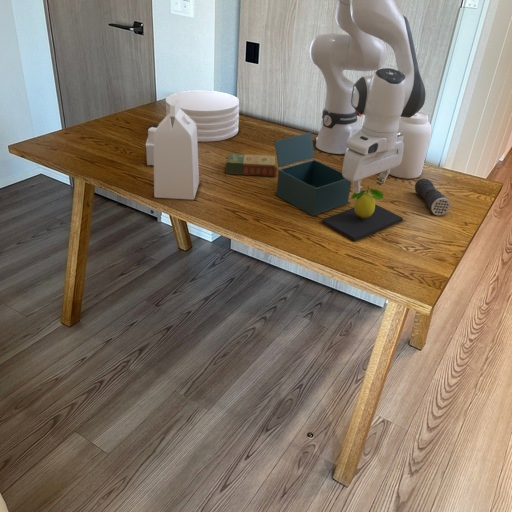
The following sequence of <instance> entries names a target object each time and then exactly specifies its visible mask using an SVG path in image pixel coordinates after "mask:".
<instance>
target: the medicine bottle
mask: <svg viewBox="0 0 512 512" xmlns="http://www.w3.org/2000/svg"><path fill="white" fill-rule="evenodd" d="M158 125H159V124H151V125H149V126H148V127H147V128H146V133H147V134H146V135H147V138H146V141H145V145H144V147H145V159H146V160H145V161H146V165H147V166H154V132H155V130H156V129H157V127H158Z"/></svg>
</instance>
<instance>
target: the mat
mask: <svg viewBox="0 0 512 512" xmlns="http://www.w3.org/2000/svg"><path fill="white" fill-rule="evenodd" d="M401 222H403V217H402V216H400V215H398V214H397V213H394V212H392V211H390V210H388V209H386V208H384V207H382V206H379V204H376V203H375V210H374V212H373V214H372V215H371V216H370V217H367V218H361V217H359V216H358V215H356V213H355V211H354V207H352V208H348V209H347V210H343V211H341V212H338V213H336V214H333V215H330V216H328V217H325V218H323V219H321V224H323V225H325V226H326V227H328V228H330V229H332V230H334V231H335V232H337V233H339V234H340V235H342V236H344V237H346V238H347V239H349V240H351V241H353V242H357V241H359V240H361V239H364V238H366V237H368V236H371V235H372V234H375V233H377V232H380V231H382V230H384V229H387V228H389V227H392V226H393V225H396V224H398V223H401Z"/></svg>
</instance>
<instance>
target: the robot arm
mask: <svg viewBox="0 0 512 512" xmlns="http://www.w3.org/2000/svg"><path fill="white" fill-rule="evenodd" d="M334 18H335V22H336V23H337V26H338V27H339V29H341V30H342V31H344V33H346V34H344V33H343V34H342V33H332V32H331V33H323V34H318V35H316V36H315V37H314V38H313V39H312V41H311V43H310V47H309V57H310V60H311V62H312V63H313V65H315V67H317V68H318V70H319V71H320V73H321V75H322V76H323V80H324V83H325V101H324V107H323V108H322V113H321V114H322V115H321V121H320V124H319V130H318V135H317V136H316V139H315V148H316V149H318V150H320V151H322V152H325V153H329V154H335V155H344V157H343V162H342V169H341V172H342V176H343V177H344V178H345V179H346V180H348V181H351V184H352V185H353V187H352V189H353V190H352V192H353V194H354V193H356V194H358V193H361V192H362V190H363V186H361V183H362V180H363V179H366V178H370V177H372V176H375V175H377V174H379V176H377V177H376V180H375V181H376V182H375V183H376V184H377V185H379V186H381V185H385V184H386V179H387V178H388V176H389V175H390V174H389V173H390V170H391V169H392V168H395V167H398V166H399V165H400V163H401V162H402V157H403V149H404V143H403V135H402V134H401V132H398V130H399V118H400V117H407V118H410V117H412V116H413V115H415V114H416V113H417V112H420V111H421V110H422V108H423V107H424V105H425V102H426V96H427V95H426V87H425V84H424V81H423V79H422V76H421V72H420V69H419V63H418V58H417V54H416V49H415V44H414V39H413V34H412V30H411V26H410V22H409V20H408V18H407V17H406V16H405V15H404V14H403V13H402V12H401V11H400V9H399V7H398V5H397V3H396V0H336V3H335V13H334ZM386 44H387V45H389V47H390V48H391V49H392V50H393V53H394V59H395V63H396V67H397V69H395V68H389V67H384V68H383V66H384V64H385V63H386V60H387V57H388V49H387V45H386ZM344 71H354V72H355V71H356V72H364V73H365V72H373V74H372V75H366V76H361V77H360V78H359V79H358V80H357V81H356V82H355V83H354V82H353V81H352V80H350V79H349V78H347V77H346V76H345V74H344ZM363 116H364V120H363V123H362V124H361V122H360V121H358V117H360V118H361V117H363Z"/></svg>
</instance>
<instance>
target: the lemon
mask: <svg viewBox="0 0 512 512" xmlns="http://www.w3.org/2000/svg"><path fill="white" fill-rule="evenodd" d="M369 187H370V184H369V185H367V189H366V190H363V189H362V192H361V193H358V194H356V193H354V192H353V193H352V194H351V197H350V199H352V200H355V202H354V207H353V208H354V211H355V213H356V215H358V216H359V217H361V218H367V217H370V216H371V215H372V214H373V212H374V210H375V204H376V200H375V198H376V199H378V200H385V197H384V194H383V193H382V192H381V191H380V190H379V189H376V188H369ZM369 191H370V193H369Z"/></svg>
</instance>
